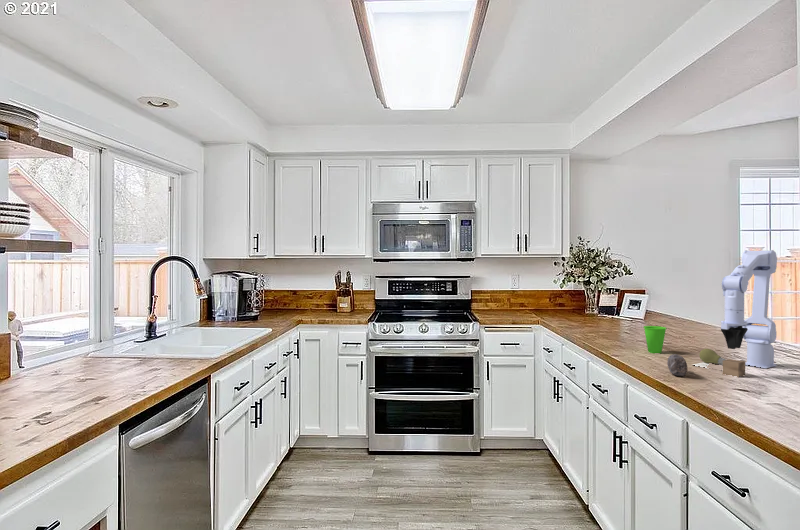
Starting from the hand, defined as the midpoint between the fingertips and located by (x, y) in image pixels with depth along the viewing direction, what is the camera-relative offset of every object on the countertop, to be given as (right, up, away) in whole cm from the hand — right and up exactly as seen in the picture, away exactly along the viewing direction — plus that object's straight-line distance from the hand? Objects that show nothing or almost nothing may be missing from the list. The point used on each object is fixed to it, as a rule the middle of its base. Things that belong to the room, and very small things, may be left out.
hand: (734, 348), depth 171 cm
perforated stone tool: (-19, -10, +2) cm, 22 cm away
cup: (-6, -9, +41) cm, 42 cm away
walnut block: (0, -10, 0) cm, 10 cm away
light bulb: (+6, -8, +13) cm, 16 cm away
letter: (+2, -9, +12) cm, 15 cm away
